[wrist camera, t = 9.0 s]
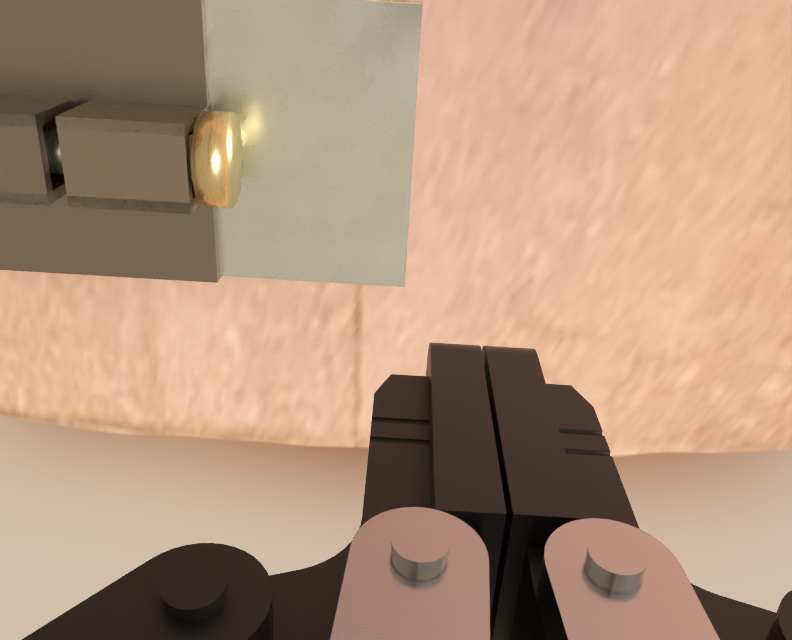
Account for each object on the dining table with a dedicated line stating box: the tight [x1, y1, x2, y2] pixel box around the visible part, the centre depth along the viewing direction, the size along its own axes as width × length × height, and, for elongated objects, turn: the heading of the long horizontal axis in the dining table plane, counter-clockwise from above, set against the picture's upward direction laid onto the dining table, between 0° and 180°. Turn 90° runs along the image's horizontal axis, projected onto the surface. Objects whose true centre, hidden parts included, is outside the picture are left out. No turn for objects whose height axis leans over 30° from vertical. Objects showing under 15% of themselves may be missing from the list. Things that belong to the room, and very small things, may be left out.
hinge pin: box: [42, 110, 243, 208], centre depth 39 cm, size 5×16×5 cm, turn 87°
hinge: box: [0, 0, 422, 287], centre depth 40 cm, size 16×25×7 cm, turn 87°
